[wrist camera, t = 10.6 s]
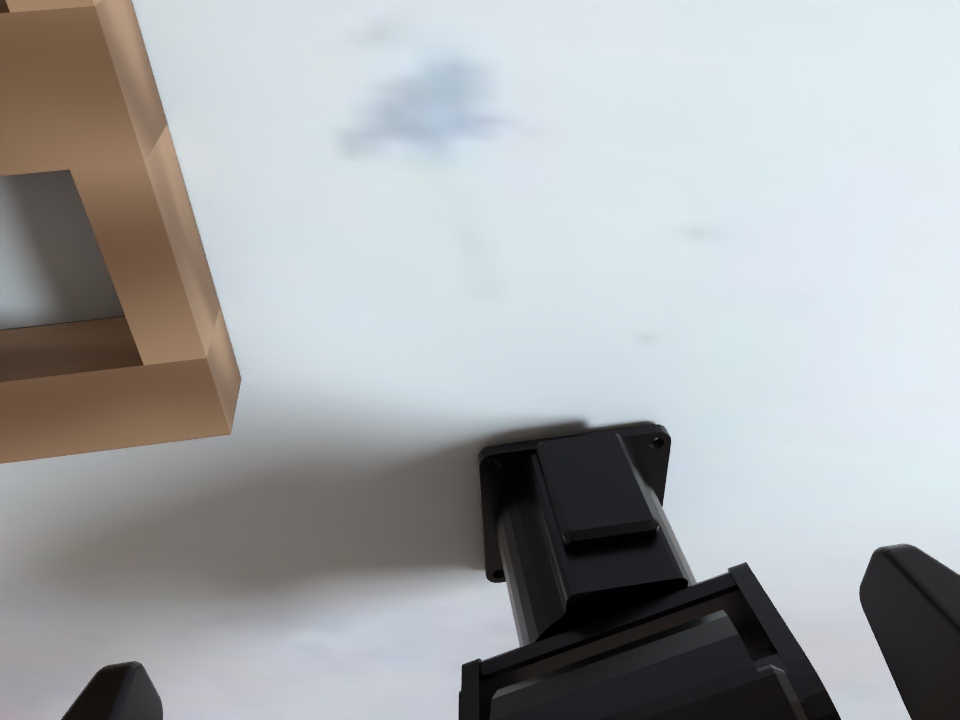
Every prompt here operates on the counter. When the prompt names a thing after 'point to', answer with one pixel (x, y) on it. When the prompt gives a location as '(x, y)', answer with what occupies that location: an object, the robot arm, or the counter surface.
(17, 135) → the rack
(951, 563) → the counter surface
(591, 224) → the counter surface
